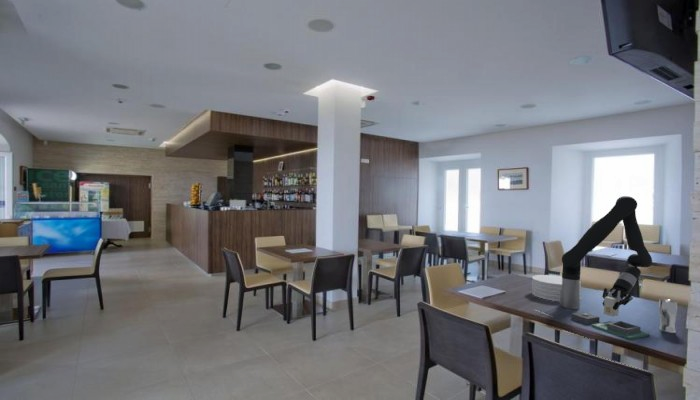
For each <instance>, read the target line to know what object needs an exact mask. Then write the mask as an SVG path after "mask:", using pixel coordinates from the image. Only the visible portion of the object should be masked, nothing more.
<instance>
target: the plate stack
mask: <svg viewBox="0 0 700 400" xmlns="http://www.w3.org/2000/svg"><path fill="white" fill-rule="evenodd" d="M531 279H532V281H531V295H532V294H533V295H535V296H537V297H540V298H543V299H548V300H553V301H552V302H554V301H559V302H558V303H560V290H561V289H562V275H554V274H552V275H551V274H536V275H532V277H531ZM581 285H582V282H581V281H580V301H581V295H582V291H581V289H582V286H581ZM533 295H532V296H533ZM535 296H534V297H535ZM537 297H536V298H537ZM540 298H539V299H540ZM543 299H542V300H543ZM548 300H547V301H548Z"/></svg>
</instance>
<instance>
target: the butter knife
mask: <svg viewBox="0 0 700 400" xmlns="http://www.w3.org/2000/svg"><path fill="white" fill-rule="evenodd" d="M534 310H535V312H537V311H538V312H537V313H540V310H538V309H534ZM540 314H544V315H545V316H549V317H552V318H554V316H553V315H550V314H547V313H545V312H543V311H541V313H540Z"/></svg>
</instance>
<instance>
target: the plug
mask: <svg viewBox="0 0 700 400" xmlns="http://www.w3.org/2000/svg"><path fill="white" fill-rule="evenodd" d="M603 302H604V306H603V314H604V315H607V316H610V317H612V318H613V317H619V313H620V311H619V309H620V307H619V308H618V309H616V310H614V309H613V306H614V304H615V303H616V302H617V298H615V297H605V299H604V298H603Z"/></svg>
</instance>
